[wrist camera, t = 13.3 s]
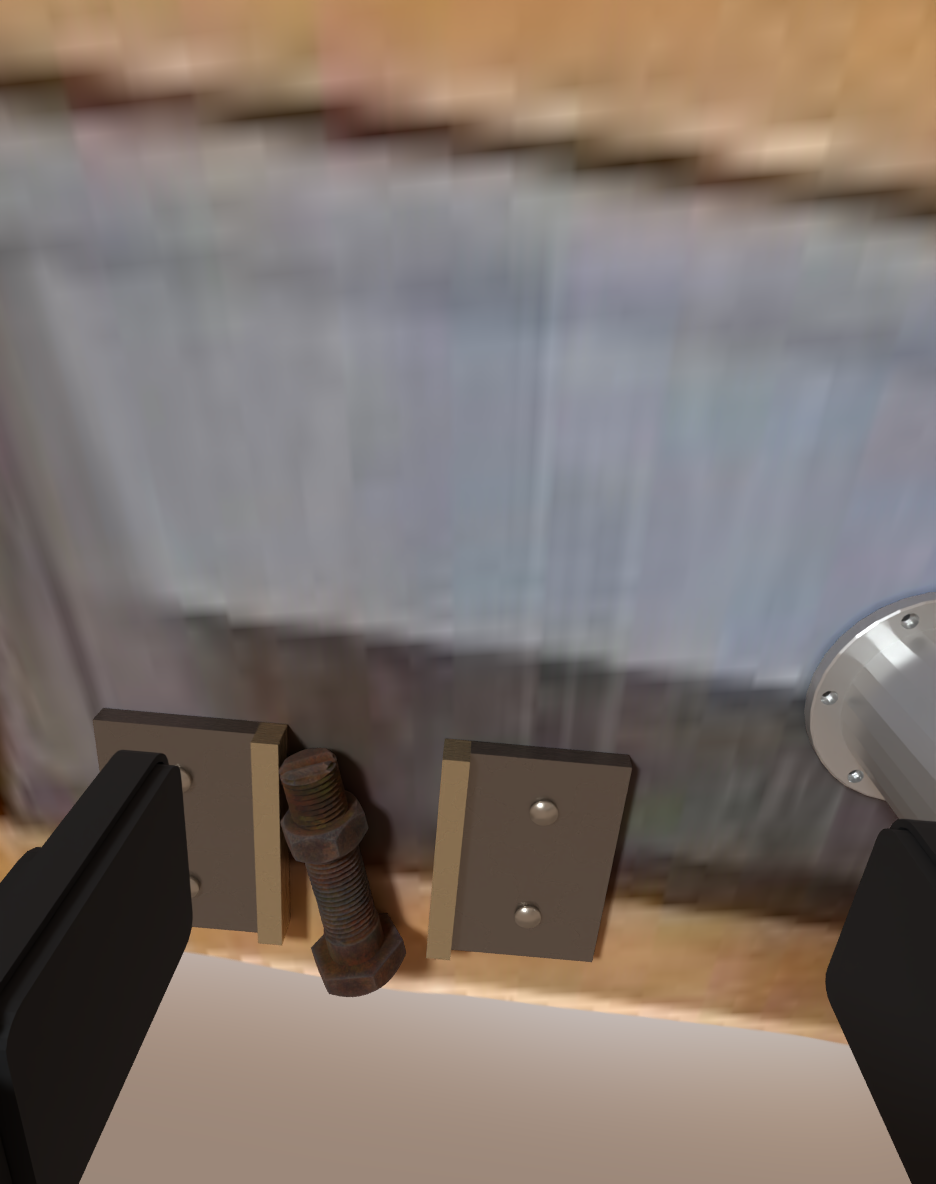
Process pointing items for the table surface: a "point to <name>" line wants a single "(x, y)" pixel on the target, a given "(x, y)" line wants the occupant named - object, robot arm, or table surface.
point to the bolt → (337, 876)
